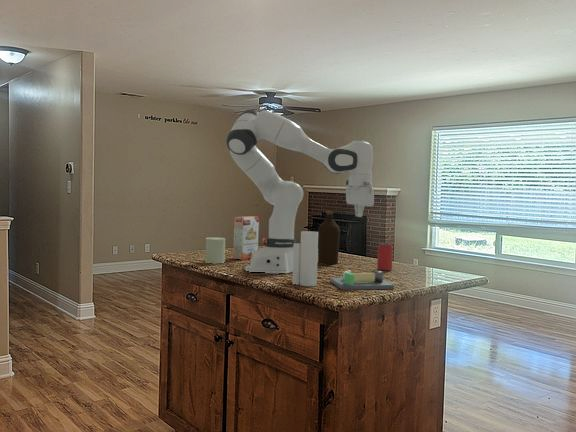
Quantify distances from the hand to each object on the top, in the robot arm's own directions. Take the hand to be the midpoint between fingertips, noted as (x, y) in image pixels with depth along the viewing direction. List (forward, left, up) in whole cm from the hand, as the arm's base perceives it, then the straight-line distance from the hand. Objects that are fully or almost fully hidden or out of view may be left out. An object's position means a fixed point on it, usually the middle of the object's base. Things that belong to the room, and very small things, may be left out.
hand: (358, 216), depth 215 cm
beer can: (+22, +25, -26) cm, 42 cm away
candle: (-23, -6, -26) cm, 35 cm away
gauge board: (-1, -10, -26) cm, 27 cm away
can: (-53, +47, -26) cm, 76 cm away
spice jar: (0, -13, -24) cm, 27 cm away
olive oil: (+1, +45, -26) cm, 52 cm away
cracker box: (-37, +61, -26) cm, 76 cm away
